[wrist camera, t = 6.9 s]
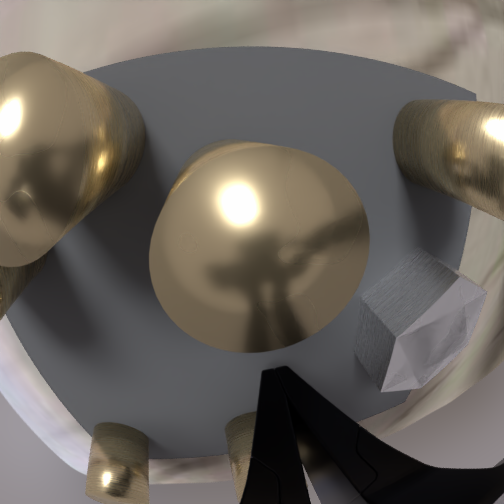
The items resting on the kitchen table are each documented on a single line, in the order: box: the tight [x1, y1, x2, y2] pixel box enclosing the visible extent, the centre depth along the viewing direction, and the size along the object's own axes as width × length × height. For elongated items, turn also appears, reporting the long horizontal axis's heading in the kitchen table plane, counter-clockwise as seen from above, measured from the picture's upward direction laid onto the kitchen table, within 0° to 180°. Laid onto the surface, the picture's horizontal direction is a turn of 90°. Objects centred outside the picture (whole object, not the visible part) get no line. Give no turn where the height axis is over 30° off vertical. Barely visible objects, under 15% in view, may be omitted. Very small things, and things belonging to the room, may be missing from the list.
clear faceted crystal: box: [354, 247, 487, 392], centre depth 9 cm, size 6×5×2 cm
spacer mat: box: [6, 47, 476, 459], centre depth 10 cm, size 19×18×1 cm
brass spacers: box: [0, 52, 504, 504], centre depth 7 cm, size 16×16×4 cm
